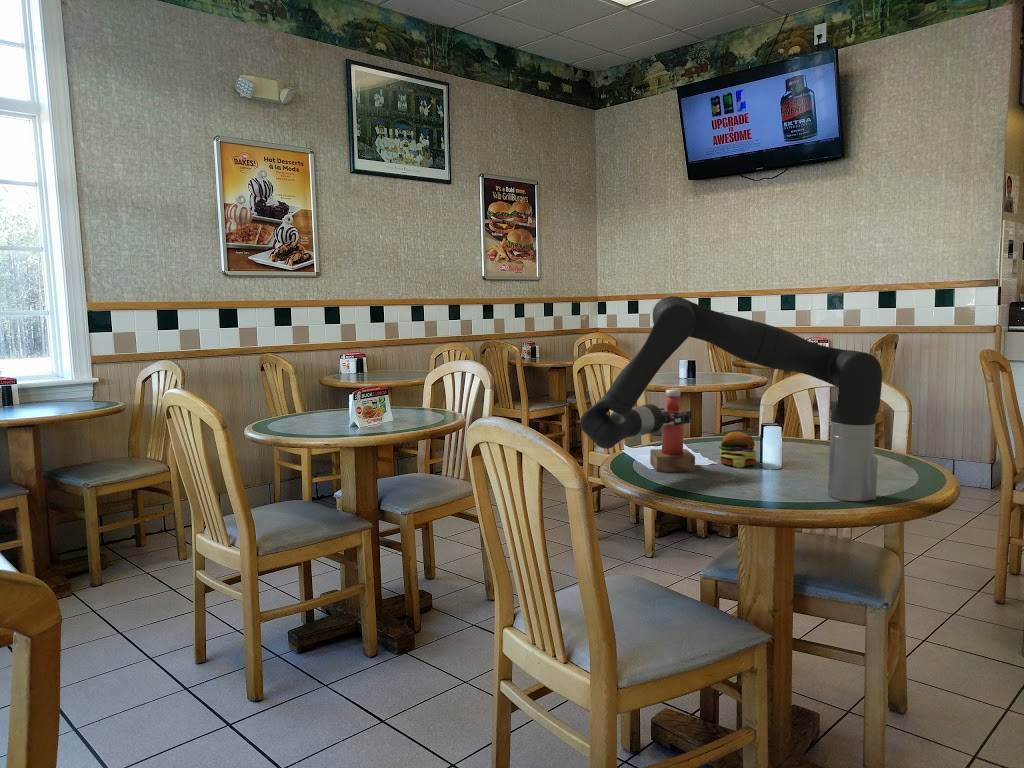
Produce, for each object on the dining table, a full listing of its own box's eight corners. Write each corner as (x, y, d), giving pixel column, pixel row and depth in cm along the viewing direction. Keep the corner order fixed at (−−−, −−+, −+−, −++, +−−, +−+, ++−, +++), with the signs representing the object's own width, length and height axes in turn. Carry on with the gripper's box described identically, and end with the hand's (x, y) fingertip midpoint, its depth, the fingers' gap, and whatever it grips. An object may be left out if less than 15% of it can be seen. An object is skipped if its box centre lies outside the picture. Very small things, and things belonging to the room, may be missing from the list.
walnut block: (686, 463, 209) (686, 449, 209) (694, 471, 199) (695, 456, 199) (650, 463, 209) (650, 449, 209) (656, 471, 199) (657, 456, 199)
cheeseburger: (719, 467, 204) (719, 430, 205) (717, 468, 214) (717, 433, 215) (758, 468, 201) (758, 431, 203) (755, 469, 212) (754, 434, 213)
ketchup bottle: (680, 450, 207) (681, 389, 205) (685, 454, 201) (686, 391, 199) (660, 451, 207) (660, 389, 205) (664, 454, 201) (664, 391, 199)
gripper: (665, 408, 187) (700, 402, 199) (619, 403, 197) (655, 397, 209) (664, 438, 188) (699, 430, 199) (618, 431, 198) (654, 424, 210)
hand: (676, 413), depth 204 cm, fingers open, 8 cm apart
